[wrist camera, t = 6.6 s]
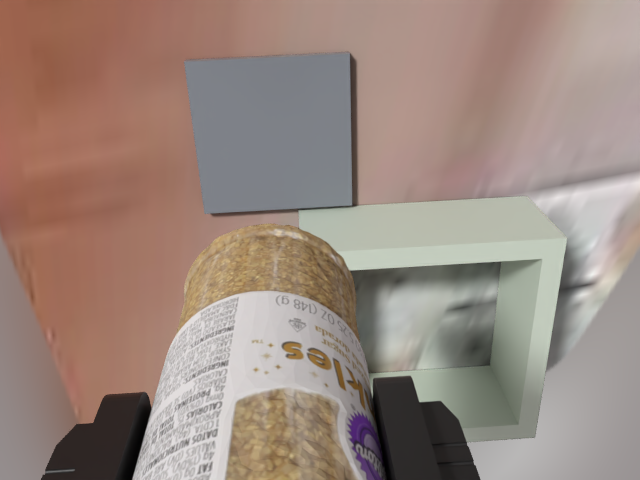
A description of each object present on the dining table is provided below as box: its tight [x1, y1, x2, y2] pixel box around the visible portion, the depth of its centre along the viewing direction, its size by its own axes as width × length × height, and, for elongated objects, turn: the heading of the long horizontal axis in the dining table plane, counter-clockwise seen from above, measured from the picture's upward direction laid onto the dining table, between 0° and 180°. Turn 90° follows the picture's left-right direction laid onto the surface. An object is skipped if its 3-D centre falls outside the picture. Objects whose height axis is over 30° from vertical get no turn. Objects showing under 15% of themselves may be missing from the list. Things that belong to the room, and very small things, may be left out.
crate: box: [298, 196, 567, 442], centre depth 32 cm, size 12×12×5 cm
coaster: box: [184, 52, 352, 214], centre depth 29 cm, size 8×8×1 cm
